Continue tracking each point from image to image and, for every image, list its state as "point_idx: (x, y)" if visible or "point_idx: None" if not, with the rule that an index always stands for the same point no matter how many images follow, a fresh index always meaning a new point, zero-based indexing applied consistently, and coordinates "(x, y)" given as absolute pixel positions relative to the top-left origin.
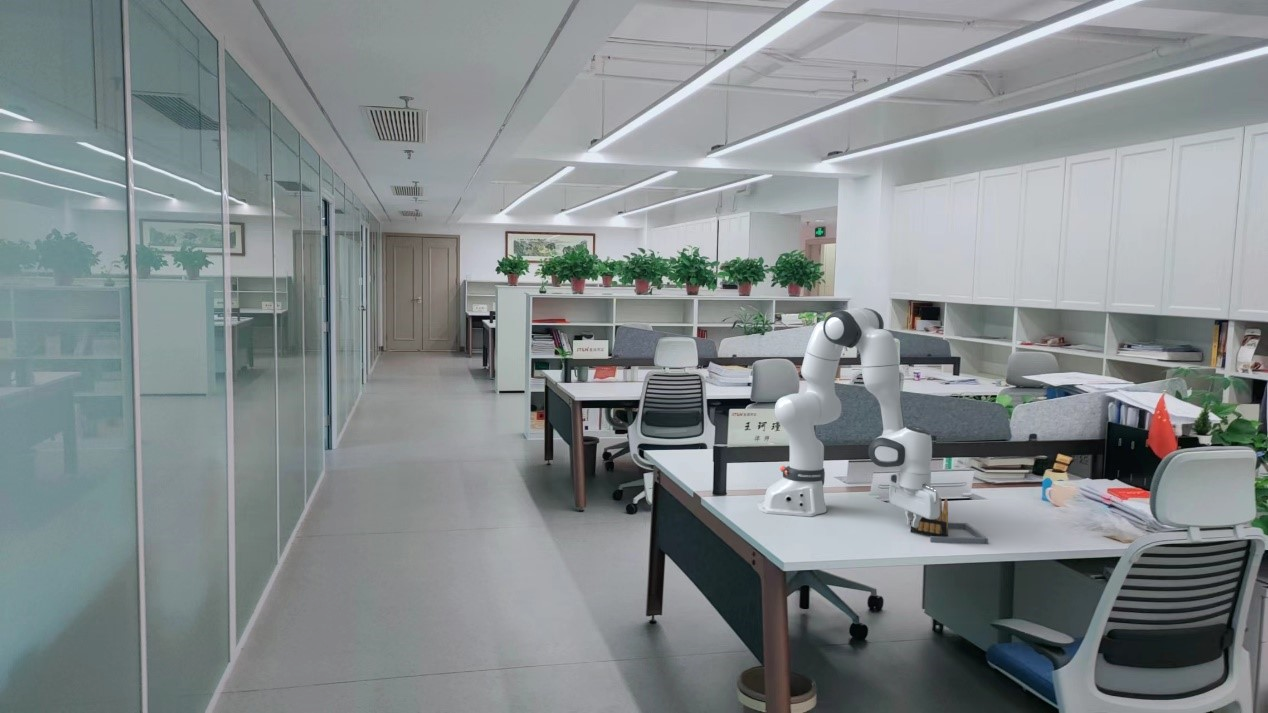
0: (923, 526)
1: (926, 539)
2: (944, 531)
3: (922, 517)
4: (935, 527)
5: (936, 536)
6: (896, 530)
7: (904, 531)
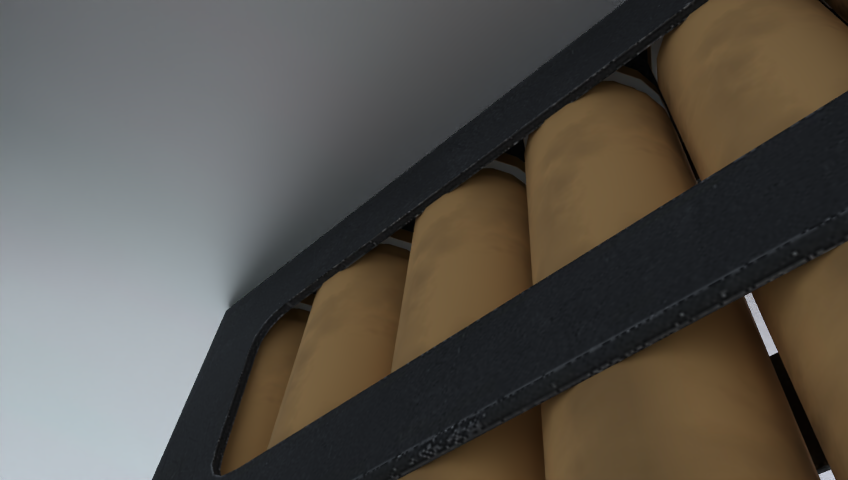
0: (396, 333)
1: None
2: None
3: None
4: (680, 175)
5: None
6: (153, 471)
7: None
